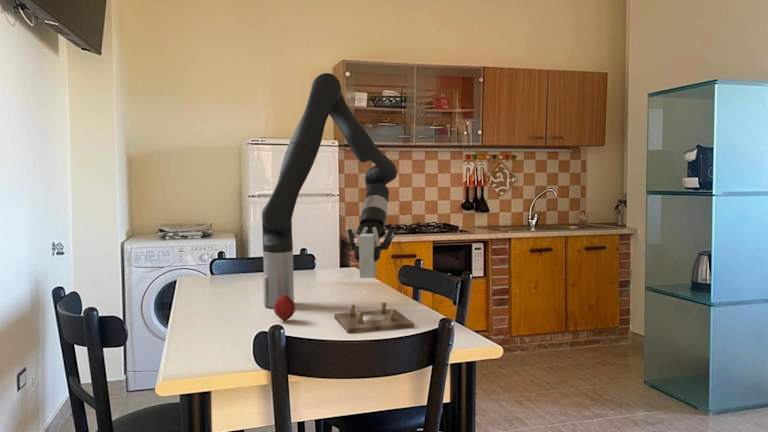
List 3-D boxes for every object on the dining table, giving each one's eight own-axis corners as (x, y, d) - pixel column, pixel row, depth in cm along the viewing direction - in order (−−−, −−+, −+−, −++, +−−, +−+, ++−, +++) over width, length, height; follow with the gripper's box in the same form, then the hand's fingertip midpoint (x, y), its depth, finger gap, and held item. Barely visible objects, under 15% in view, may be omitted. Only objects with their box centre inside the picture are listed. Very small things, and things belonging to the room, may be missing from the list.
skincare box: (362, 274, 181) (361, 233, 180) (376, 274, 180) (375, 233, 179) (359, 278, 175) (358, 235, 174) (374, 278, 174) (373, 235, 173)
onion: (276, 318, 178) (276, 291, 177) (296, 318, 178) (296, 291, 177) (272, 323, 172) (271, 295, 172) (293, 323, 172) (292, 295, 172)
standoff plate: (348, 333, 161) (347, 317, 160) (334, 317, 178) (333, 303, 178) (413, 327, 166) (413, 311, 165) (394, 313, 183) (394, 299, 183)
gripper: (348, 205, 185) (339, 251, 174) (396, 205, 182) (389, 251, 171) (353, 221, 190) (344, 267, 179) (399, 221, 187) (393, 267, 176)
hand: (366, 259), depth 175 cm, fingers closed on skincare box, 4 cm apart
